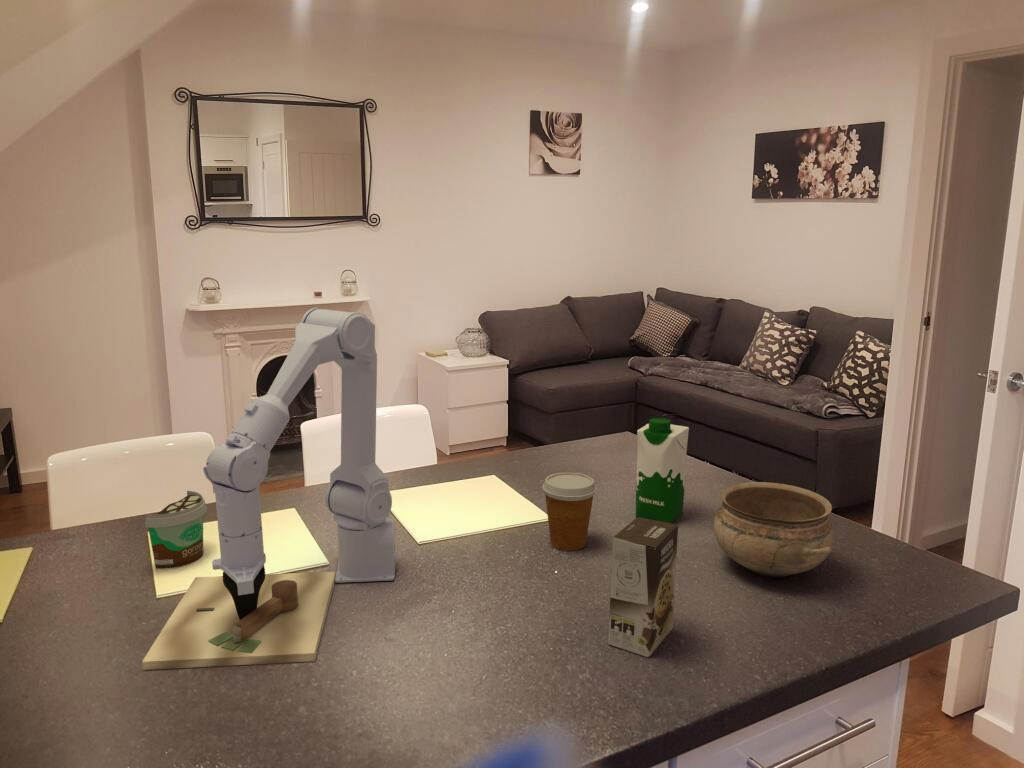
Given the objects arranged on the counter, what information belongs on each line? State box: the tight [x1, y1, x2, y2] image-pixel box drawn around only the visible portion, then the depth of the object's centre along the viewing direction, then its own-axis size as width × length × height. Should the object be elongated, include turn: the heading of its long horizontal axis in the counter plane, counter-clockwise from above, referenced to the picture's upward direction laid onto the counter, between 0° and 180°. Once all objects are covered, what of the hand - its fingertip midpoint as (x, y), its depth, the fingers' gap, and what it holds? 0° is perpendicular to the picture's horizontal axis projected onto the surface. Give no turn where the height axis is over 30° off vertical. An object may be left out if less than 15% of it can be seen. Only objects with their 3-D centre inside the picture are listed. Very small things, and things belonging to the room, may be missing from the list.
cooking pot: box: [713, 481, 835, 578], centre depth 131 cm, size 25×19×12 cm
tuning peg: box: [232, 580, 298, 642], centre depth 112 cm, size 13×4×3 cm, turn 160°
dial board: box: [141, 571, 337, 671], centre depth 115 cm, size 22×24×1 cm
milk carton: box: [635, 417, 690, 524], centre depth 152 cm, size 9×9×20 cm
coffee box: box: [607, 517, 679, 658], centre depth 110 cm, size 9×6×16 cm
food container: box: [144, 490, 208, 570], centre depth 134 cm, size 12×6×10 cm, turn 168°
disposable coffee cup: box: [541, 472, 597, 552], centre depth 141 cm, size 10×10×12 cm
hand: (247, 618), depth 112 cm, fingers closed
